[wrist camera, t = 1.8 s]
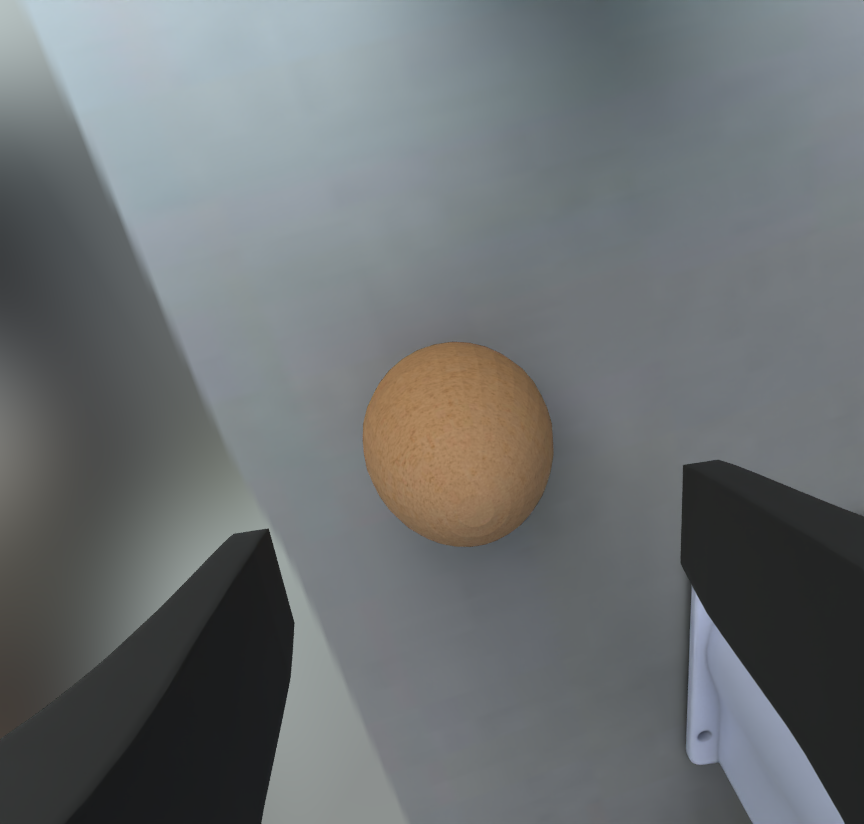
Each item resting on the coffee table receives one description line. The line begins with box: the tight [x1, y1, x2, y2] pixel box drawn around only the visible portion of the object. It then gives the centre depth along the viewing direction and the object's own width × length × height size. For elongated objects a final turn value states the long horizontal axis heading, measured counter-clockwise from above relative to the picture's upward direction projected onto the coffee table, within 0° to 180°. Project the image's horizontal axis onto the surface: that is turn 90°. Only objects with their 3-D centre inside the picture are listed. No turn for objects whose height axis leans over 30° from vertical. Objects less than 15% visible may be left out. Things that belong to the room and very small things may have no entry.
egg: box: [363, 342, 553, 547], centre depth 15 cm, size 4×4×6 cm
